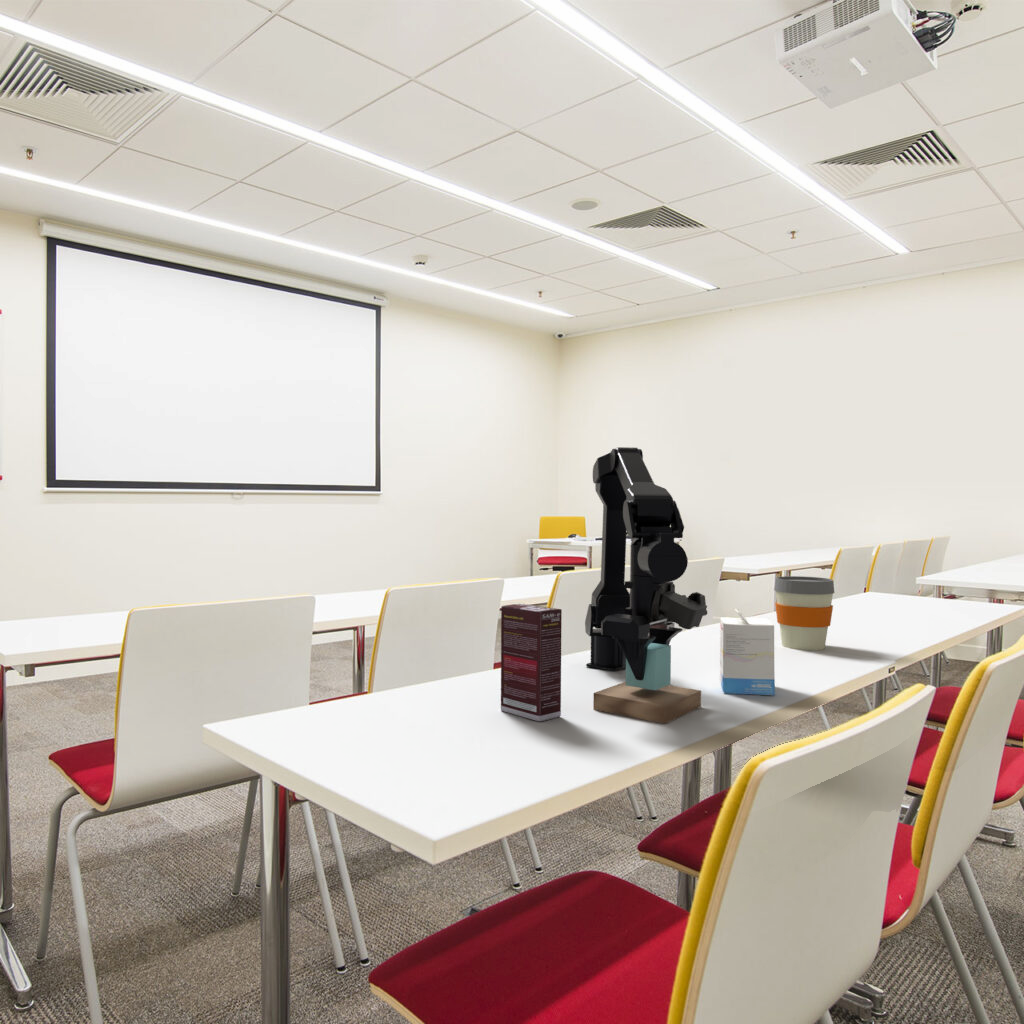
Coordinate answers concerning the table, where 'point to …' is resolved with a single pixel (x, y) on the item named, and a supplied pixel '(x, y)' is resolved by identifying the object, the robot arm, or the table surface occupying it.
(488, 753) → the table surface
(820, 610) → the reusable coffee cup
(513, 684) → the supplement box
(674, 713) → the base
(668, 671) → the block
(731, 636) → the ink box
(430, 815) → the table surface
